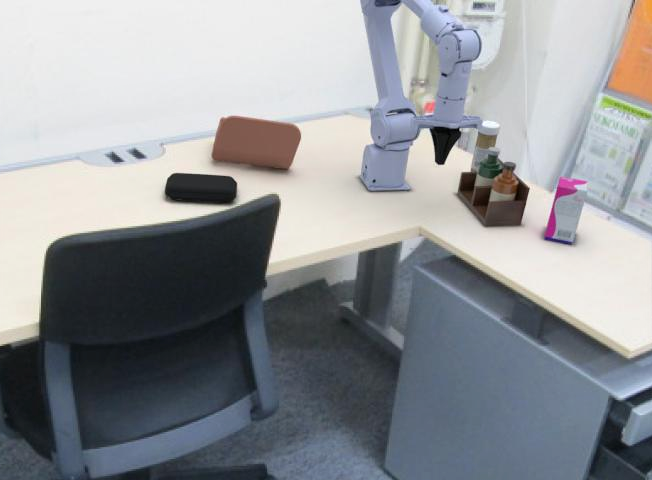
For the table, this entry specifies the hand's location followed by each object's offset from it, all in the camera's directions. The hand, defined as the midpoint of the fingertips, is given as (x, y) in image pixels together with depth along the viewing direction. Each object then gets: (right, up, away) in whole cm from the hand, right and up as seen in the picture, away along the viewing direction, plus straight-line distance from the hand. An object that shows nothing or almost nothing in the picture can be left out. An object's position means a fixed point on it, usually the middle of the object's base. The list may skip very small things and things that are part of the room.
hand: (439, 163), depth 181 cm
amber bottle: (+13, -9, +5) cm, 17 cm away
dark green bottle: (+12, -4, +11) cm, 17 cm away
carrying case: (-49, -5, +5) cm, 50 cm away
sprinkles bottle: (+12, +1, +21) cm, 24 cm away
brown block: (-38, +7, +22) cm, 45 cm away
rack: (+12, -8, +9) cm, 17 cm away
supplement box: (+25, -15, +1) cm, 29 cm away
